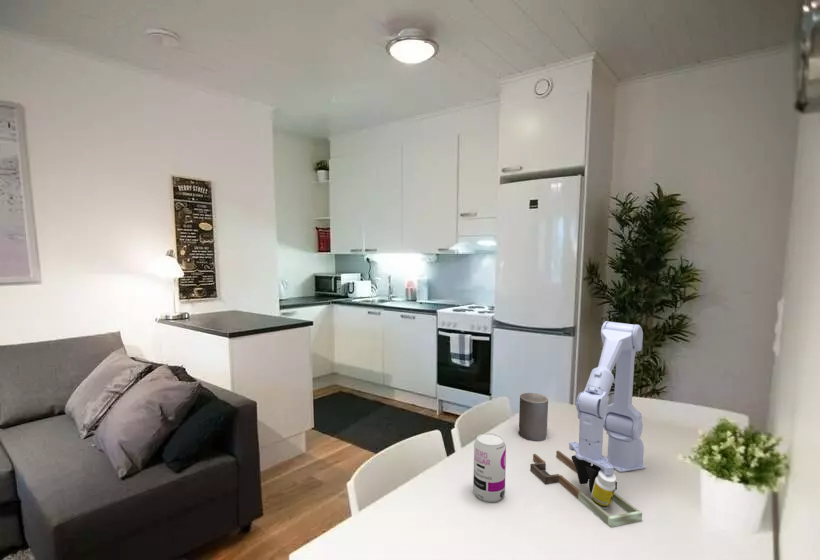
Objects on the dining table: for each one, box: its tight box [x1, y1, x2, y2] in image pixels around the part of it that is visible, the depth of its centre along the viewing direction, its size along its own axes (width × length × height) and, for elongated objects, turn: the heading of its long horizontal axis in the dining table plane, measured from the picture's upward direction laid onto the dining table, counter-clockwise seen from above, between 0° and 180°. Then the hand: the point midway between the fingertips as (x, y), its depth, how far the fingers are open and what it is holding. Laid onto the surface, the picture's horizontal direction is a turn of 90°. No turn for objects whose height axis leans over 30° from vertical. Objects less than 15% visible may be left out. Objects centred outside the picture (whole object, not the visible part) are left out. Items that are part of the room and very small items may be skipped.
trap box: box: [529, 450, 643, 528], centre depth 111 cm, size 18×32×2 cm, turn 15°
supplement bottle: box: [590, 470, 617, 510], centre depth 102 cm, size 5×5×8 cm
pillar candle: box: [518, 392, 549, 442], centre depth 143 cm, size 10×10×15 cm
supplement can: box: [472, 432, 507, 503], centre depth 107 cm, size 8×8×15 cm
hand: (588, 487), depth 108 cm, fingers open, 4 cm apart
